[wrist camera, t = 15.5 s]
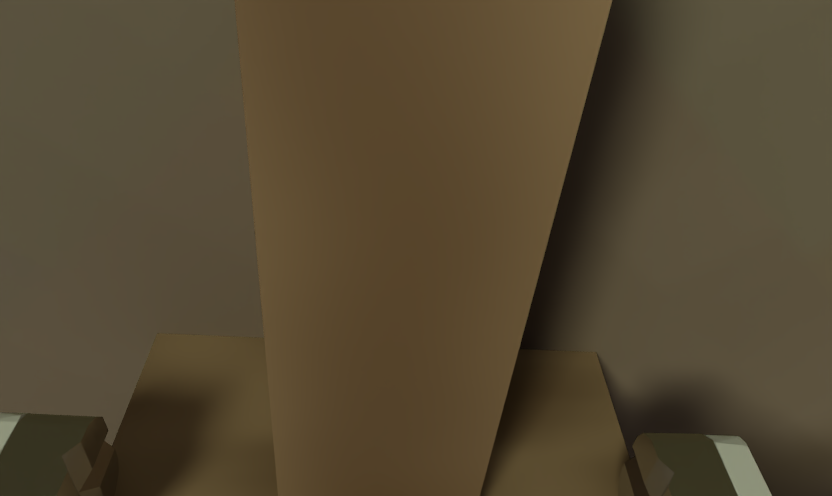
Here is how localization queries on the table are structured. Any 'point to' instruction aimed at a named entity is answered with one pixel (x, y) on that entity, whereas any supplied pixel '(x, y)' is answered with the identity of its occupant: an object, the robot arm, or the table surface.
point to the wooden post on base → (392, 266)
